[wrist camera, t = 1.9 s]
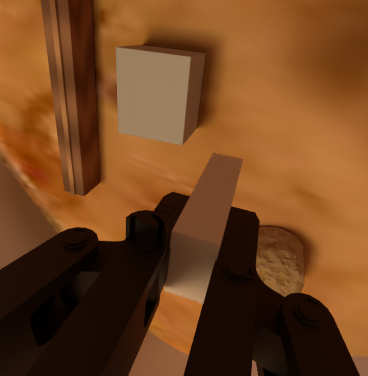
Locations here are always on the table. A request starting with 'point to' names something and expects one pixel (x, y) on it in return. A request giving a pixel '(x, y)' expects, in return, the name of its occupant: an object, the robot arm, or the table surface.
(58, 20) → the brown wooden bar
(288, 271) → the decorative object
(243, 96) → the table surface
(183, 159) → the table surface
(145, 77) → the block
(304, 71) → the table surface
